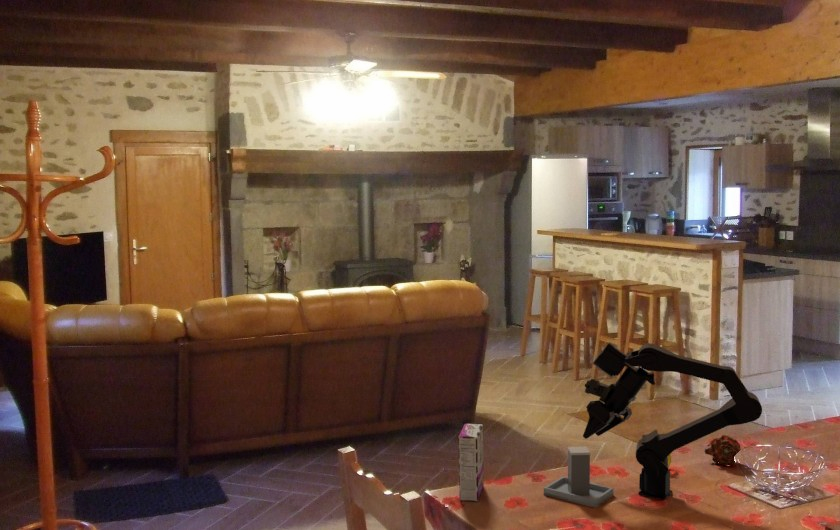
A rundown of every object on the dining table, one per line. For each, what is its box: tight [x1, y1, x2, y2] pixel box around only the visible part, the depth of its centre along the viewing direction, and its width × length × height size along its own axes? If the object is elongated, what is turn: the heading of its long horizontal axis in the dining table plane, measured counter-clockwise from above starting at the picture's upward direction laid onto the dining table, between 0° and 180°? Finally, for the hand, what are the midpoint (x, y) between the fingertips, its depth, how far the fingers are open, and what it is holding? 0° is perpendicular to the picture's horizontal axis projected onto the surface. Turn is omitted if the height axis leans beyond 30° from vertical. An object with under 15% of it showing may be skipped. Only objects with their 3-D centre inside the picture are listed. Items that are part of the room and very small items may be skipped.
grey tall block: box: [567, 445, 591, 496], centre depth 201 cm, size 5×5×11 cm
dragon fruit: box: [703, 434, 742, 466], centre depth 223 cm, size 8×8×12 cm
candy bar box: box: [457, 423, 485, 503], centre depth 203 cm, size 11×5×16 cm, turn 168°
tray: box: [543, 476, 614, 509], centre depth 201 cm, size 14×10×2 cm
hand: (590, 436), depth 205 cm, fingers open, 9 cm apart
